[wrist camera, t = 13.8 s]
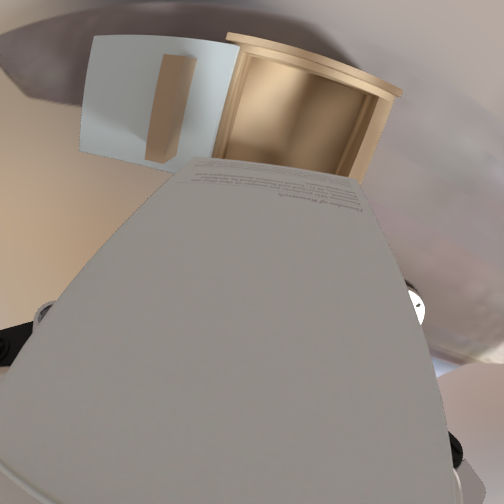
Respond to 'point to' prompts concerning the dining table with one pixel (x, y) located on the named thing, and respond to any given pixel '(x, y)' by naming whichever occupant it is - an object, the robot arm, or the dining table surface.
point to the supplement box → (232, 356)
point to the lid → (154, 98)
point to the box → (301, 110)
